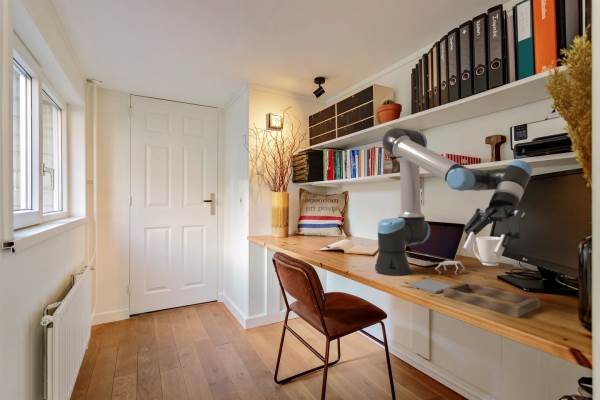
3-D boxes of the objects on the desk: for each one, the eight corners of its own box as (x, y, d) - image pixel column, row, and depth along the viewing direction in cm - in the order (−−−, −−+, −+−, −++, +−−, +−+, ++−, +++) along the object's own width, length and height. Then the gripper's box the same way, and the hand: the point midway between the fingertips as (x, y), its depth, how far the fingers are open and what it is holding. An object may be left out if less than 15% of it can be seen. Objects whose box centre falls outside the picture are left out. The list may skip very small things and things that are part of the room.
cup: (488, 267, 84) (487, 240, 84) (464, 260, 94) (463, 236, 94) (510, 265, 85) (509, 238, 85) (484, 259, 95) (483, 234, 95)
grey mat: (408, 286, 106) (408, 283, 106) (427, 281, 112) (427, 279, 112) (435, 293, 97) (435, 291, 97) (454, 288, 103) (454, 285, 103)
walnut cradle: (443, 296, 94) (443, 288, 94) (466, 289, 101) (465, 282, 101) (518, 317, 76) (517, 308, 76) (539, 307, 83) (539, 298, 83)
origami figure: (448, 269, 129) (448, 258, 129) (466, 273, 122) (465, 262, 122) (429, 273, 124) (429, 261, 124) (447, 277, 116) (447, 265, 117)
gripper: (549, 206, 87) (526, 266, 79) (477, 206, 106) (452, 255, 98) (541, 189, 85) (516, 249, 77) (468, 191, 103) (442, 240, 95)
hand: (480, 252), depth 87 cm, fingers closed on cup, 8 cm apart
